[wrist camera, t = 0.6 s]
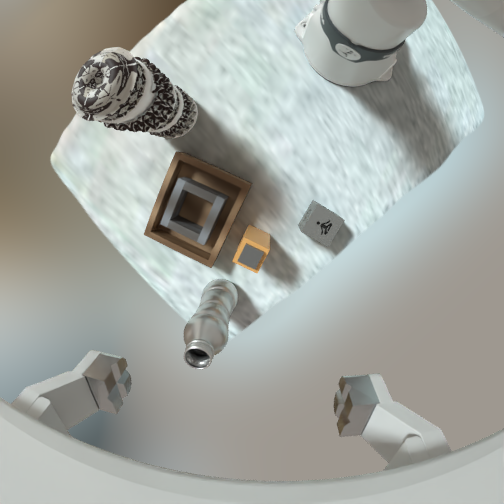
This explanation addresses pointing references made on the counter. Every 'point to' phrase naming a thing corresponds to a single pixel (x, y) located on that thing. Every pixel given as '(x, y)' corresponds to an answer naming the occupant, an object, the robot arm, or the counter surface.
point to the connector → (252, 249)
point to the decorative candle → (131, 95)
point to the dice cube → (320, 223)
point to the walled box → (196, 208)
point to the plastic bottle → (210, 324)
